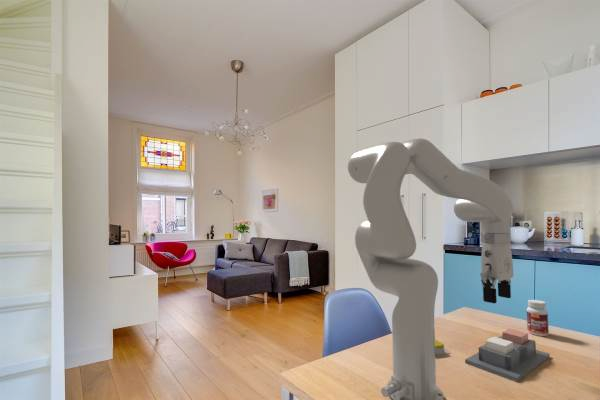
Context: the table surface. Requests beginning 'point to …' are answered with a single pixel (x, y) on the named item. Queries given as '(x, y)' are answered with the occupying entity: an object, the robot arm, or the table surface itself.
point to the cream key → (499, 345)
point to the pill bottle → (537, 318)
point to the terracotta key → (515, 336)
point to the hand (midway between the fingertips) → (497, 299)
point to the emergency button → (440, 348)
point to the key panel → (509, 360)
